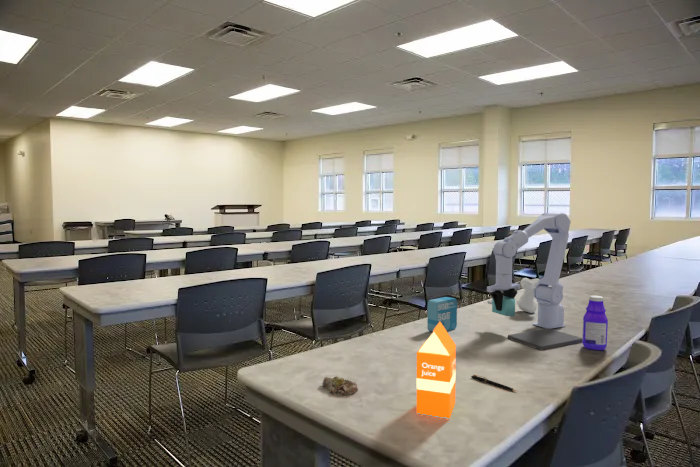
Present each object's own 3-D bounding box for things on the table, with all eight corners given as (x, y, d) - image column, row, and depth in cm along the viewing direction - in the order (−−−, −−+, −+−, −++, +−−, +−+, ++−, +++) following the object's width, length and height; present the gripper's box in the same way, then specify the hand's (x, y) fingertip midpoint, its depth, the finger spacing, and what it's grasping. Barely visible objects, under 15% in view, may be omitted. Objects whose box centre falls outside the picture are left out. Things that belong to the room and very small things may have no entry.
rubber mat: (547, 331, 176) (548, 328, 176) (583, 341, 162) (583, 338, 162) (507, 338, 167) (507, 335, 167) (541, 350, 154) (541, 346, 154)
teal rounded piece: (493, 308, 183) (493, 293, 183) (517, 315, 172) (517, 299, 172) (485, 309, 182) (485, 294, 181) (509, 316, 170) (509, 300, 170)
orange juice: (415, 414, 108) (416, 328, 107) (424, 399, 116) (424, 319, 115) (450, 419, 105) (451, 332, 104) (456, 404, 113) (456, 322, 112)
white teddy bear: (530, 309, 212) (531, 276, 211) (548, 314, 202) (549, 280, 201) (512, 310, 209) (513, 277, 208) (529, 316, 198) (530, 281, 198)
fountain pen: (519, 393, 120) (520, 387, 120) (517, 394, 119) (517, 389, 119) (471, 378, 131) (472, 372, 131) (469, 379, 130) (469, 373, 130)
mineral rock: (366, 380, 123) (348, 381, 117) (364, 397, 123) (346, 399, 116) (334, 372, 130) (315, 373, 124) (332, 389, 129) (313, 390, 123)
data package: (436, 334, 173) (436, 302, 172) (427, 331, 177) (427, 300, 176) (457, 328, 181) (457, 297, 180) (447, 326, 184) (447, 296, 183)
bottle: (605, 346, 157) (606, 295, 156) (608, 352, 151) (610, 298, 150) (581, 344, 159) (582, 294, 158) (583, 349, 154) (584, 297, 153)
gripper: (510, 270, 181) (510, 305, 182) (481, 273, 175) (480, 309, 176) (524, 273, 175) (524, 309, 176) (494, 276, 169) (494, 313, 170)
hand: (503, 309), depth 176 cm, fingers closed on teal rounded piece, 4 cm apart
